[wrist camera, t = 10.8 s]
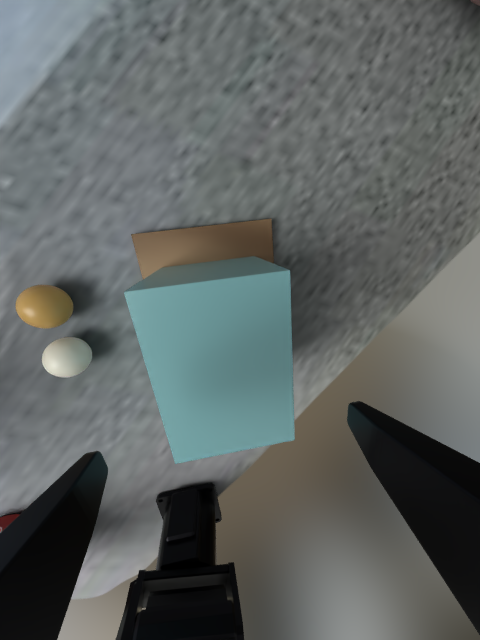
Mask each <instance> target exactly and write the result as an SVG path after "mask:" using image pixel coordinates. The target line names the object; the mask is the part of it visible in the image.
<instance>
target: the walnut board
mask: <svg viewBox="0 0 480 640" xmlns="http://www.w3.org/2000/svg"><path fill="white" fill-rule="evenodd" d="M131 236H132V239H133V243H134V247H135V251H136V254H137V258H138V262H139V266H140V270H141V273H142V277H143V279H145V278H146V277H148V276H149V275H151V274H152V273H154V272H156V271H157V270H159V269H160V268H162V267H170V266H178V265H187V264H195V263H203V262H211V261H219V260H227V259H235V258H243V257H251V256H255V257H258V258H261V259H263V260H266V261H268V262H271V263H273V264H274V258H273V239H272V221H271V219H264V220H255V221H246V222H237V223H229V224H220V225H211V226H202V227H193V228H184V229H175V230H166V231H157V232H148V233H140V234H131Z"/></svg>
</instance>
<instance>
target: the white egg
mask: <svg viewBox="0 0 480 640" xmlns="http://www.w3.org/2000/svg"><path fill="white" fill-rule="evenodd" d="M91 360H92V351H91V348H90V346H89V345H88V344H87V343H86V342H85V341H83V340H81V339H79V338H75V337H64V338H60V339H57V340H55V341H53V342H52V343H51V344H49V345H48V346H47V347H46V349H45V350H44V352H43V355H42V363H43V366H44V368H45V369H46V370H47V371H48V372H49V373H50V374H52V375H54V376H57V377H72V376H75V375H78V374H80V373H82V372H83V371H84V370H85V369H86V368H87V367H88V366H89V365H90V363H91Z"/></svg>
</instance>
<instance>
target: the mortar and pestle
mask: <svg viewBox="0 0 480 640" xmlns="http://www.w3.org/2000/svg"><path fill="white" fill-rule="evenodd" d="M470 1H471V2H473V3H474V4H476V5H479V6H480V0H470Z"/></svg>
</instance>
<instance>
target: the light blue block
mask: <svg viewBox="0 0 480 640" xmlns="http://www.w3.org/2000/svg"><path fill="white" fill-rule="evenodd" d="M124 294H125V297H126V301H127V304H128V307H129V311H130V314H131V317H132V321H133V324H134V327H135V331H136V334H137V337H138V341H139V344H140V347H141V351H142V354H143V358H144V361H145V364H146V368H147V371H148V374H149V378H150V381H151V384H152V388H153V391H154V394H155V398H156V401H157V404H158V408H159V411H160V414H161V418H162V421H163V424H164V428H165V431H166V434H167V438H168V441H169V444H170V448H171V451H172V454H173V458H174V461H175V464H177V463H182V462H187V461H192V460H197V459H202V458H207V457H212V456H217V455H222V454H227V453H232V452H237V451H242V450H247V449H252V448H257V447H262V446H267V445H272V444H276V443H281V442H287V441H292V440H294V439H295V438H294V400H293V363H292V325H291V288H290V270H288V269H286V268H283V267H281V266H278V265H276V264H273V263H271V262H268V261H266V260H263V259H261V258H258V257H255V256H251V257H243V258H235V259H227V260H219V261H211V262H203V263H195V264H187V265H178V266H170V267H162V268H160V269H159V270H157V271H156V272H154V273H152V274H151V275H149V276H148V277H146V278H145V279H143V280H142V281H140V282H139V283H137V284H136V285H134V286H132V287H131V288H129V289H128V290H126V291H125V292H124Z"/></svg>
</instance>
